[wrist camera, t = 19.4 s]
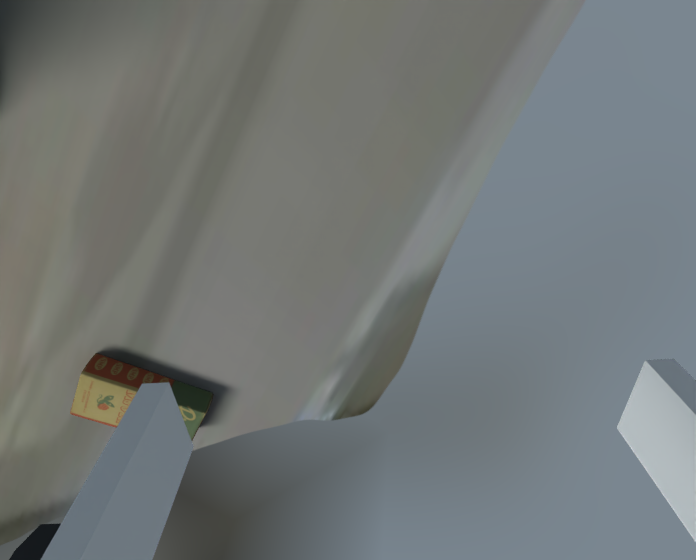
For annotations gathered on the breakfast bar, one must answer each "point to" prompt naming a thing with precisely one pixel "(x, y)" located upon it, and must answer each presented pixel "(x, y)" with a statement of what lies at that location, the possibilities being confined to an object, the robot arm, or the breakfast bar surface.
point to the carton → (130, 393)
